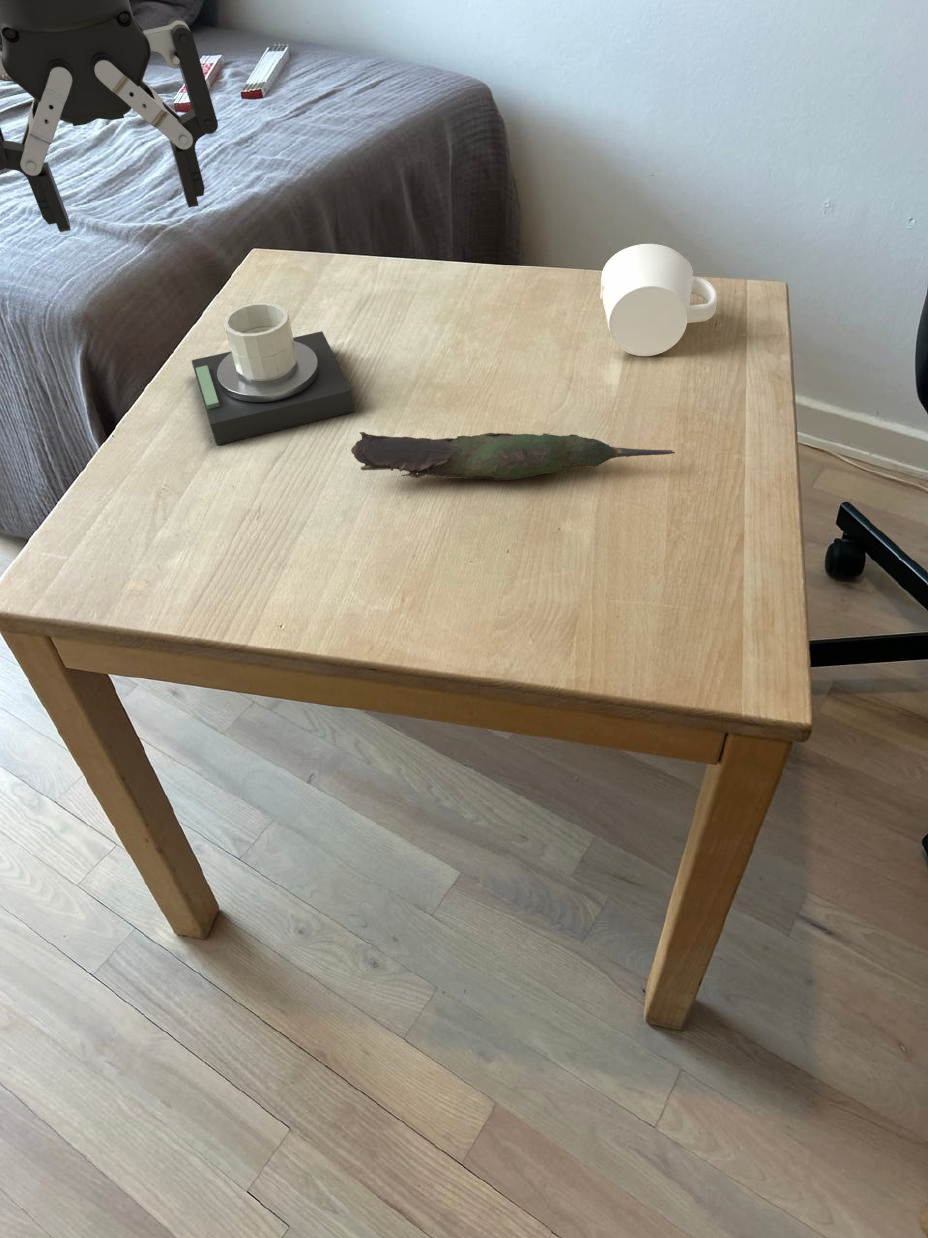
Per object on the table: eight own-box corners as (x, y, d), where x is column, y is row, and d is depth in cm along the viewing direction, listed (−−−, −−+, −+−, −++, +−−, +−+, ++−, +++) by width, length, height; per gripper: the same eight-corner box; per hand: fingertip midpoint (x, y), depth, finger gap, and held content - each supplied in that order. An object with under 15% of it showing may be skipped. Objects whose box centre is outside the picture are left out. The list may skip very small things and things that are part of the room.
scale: (216, 445, 85) (208, 419, 83) (197, 380, 93) (189, 355, 90) (355, 411, 88) (351, 386, 86) (325, 351, 95) (321, 326, 93)
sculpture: (358, 462, 83) (351, 418, 79) (667, 449, 82) (674, 404, 78) (355, 496, 79) (348, 451, 76) (676, 482, 79) (684, 437, 75)
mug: (597, 355, 93) (603, 284, 87) (598, 309, 99) (604, 240, 93) (713, 358, 92) (727, 286, 86) (706, 312, 98) (719, 241, 92)
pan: (228, 411, 84) (226, 404, 84) (211, 358, 90) (209, 351, 90) (329, 388, 86) (328, 381, 86) (305, 337, 92) (304, 330, 92)
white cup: (242, 389, 85) (230, 341, 81) (231, 357, 89) (218, 309, 85) (303, 375, 86) (294, 327, 82) (290, 344, 90) (280, 296, 86)
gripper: (156, -114, 51) (223, 175, 63) (-104, -85, 48) (18, 212, 61) (174, -90, 47) (242, 217, 59) (-114, -56, 44) (21, 259, 56)
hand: (129, 214), depth 60 cm, fingers open, 8 cm apart
